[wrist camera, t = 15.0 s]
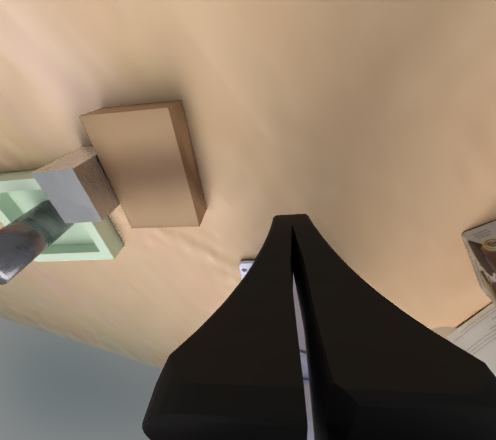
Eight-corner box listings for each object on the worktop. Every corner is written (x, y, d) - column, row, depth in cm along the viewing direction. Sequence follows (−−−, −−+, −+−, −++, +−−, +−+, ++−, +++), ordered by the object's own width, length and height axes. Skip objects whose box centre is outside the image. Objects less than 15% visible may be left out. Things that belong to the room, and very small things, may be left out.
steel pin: (80, 227, 23) (17, 284, 18) (53, 228, 24) (-17, 285, 18) (61, 199, 22) (-16, 253, 16) (32, 201, 22) (-53, 254, 17)
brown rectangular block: (207, 206, 22) (199, 226, 20) (146, 209, 23) (131, 228, 20) (182, 99, 17) (167, 107, 15) (105, 107, 18) (78, 116, 15)
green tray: (124, 245, 25) (114, 259, 24) (49, 248, 27) (35, 261, 25) (80, 165, 20) (63, 175, 19) (-10, 173, 21) (-33, 184, 20)
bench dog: (135, 188, 21) (102, 221, 17) (104, 190, 22) (65, 223, 17) (115, 143, 19) (72, 168, 15) (81, 146, 19) (30, 172, 15)
